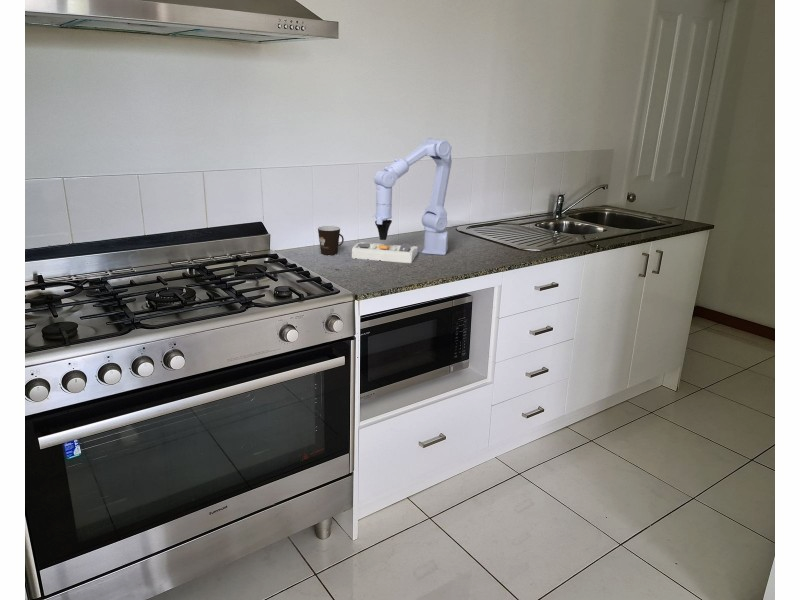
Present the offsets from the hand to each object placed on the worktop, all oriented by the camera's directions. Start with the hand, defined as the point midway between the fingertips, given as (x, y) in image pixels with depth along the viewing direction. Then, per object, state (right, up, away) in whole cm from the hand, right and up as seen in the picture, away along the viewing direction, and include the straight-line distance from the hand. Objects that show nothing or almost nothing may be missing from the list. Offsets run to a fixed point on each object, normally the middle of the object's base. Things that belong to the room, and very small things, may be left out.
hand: (383, 239), depth 217 cm
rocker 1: (-8, -3, +5) cm, 9 cm away
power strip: (+1, -6, +7) cm, 9 cm away
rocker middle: (0, -3, +3) cm, 5 cm away
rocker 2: (+8, -4, +2) cm, 9 cm away
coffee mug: (-21, -5, +7) cm, 22 cm away
